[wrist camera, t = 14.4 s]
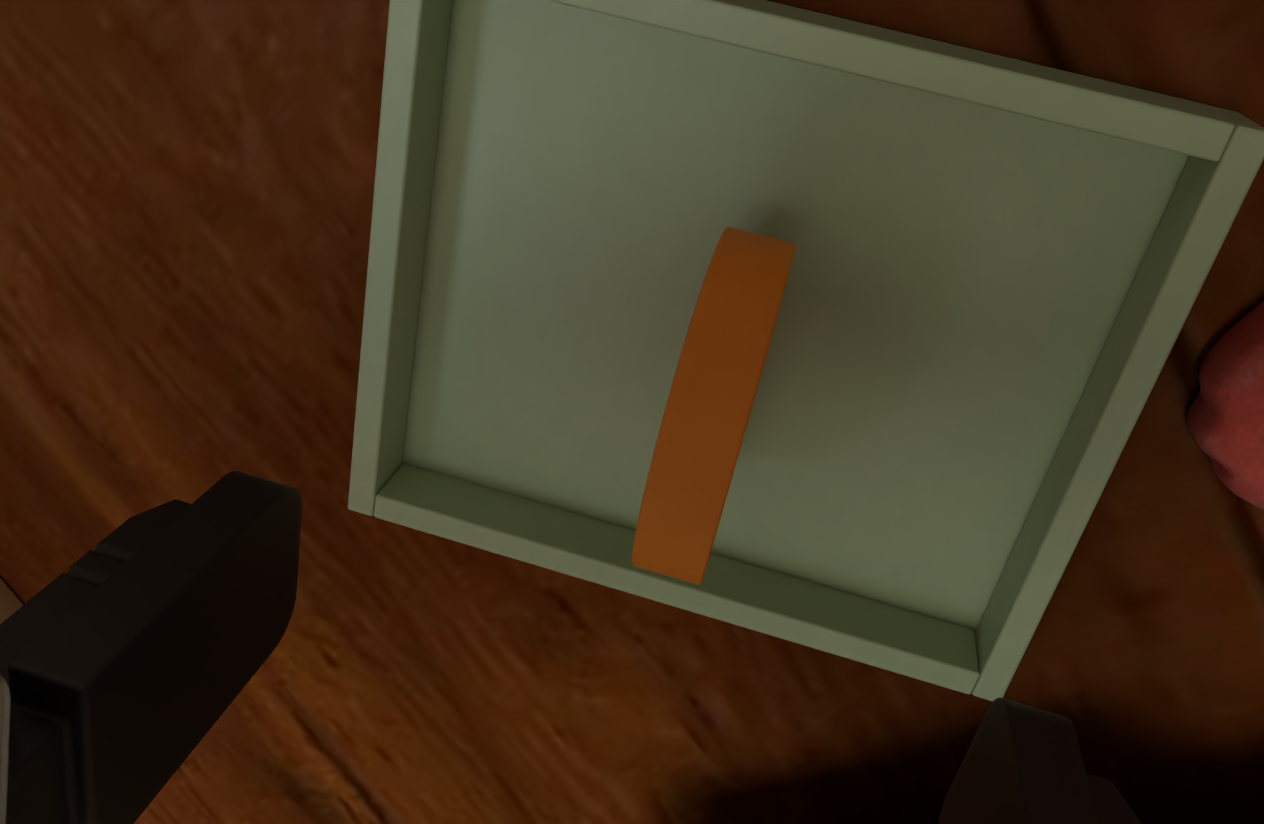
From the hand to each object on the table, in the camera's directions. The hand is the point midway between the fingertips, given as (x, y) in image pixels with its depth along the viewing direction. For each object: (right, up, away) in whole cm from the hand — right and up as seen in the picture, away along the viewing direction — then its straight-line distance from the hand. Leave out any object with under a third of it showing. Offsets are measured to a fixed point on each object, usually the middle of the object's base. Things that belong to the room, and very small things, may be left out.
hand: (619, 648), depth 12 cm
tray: (+2, +4, +9) cm, 10 cm away
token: (+2, +3, +6) cm, 7 cm away
